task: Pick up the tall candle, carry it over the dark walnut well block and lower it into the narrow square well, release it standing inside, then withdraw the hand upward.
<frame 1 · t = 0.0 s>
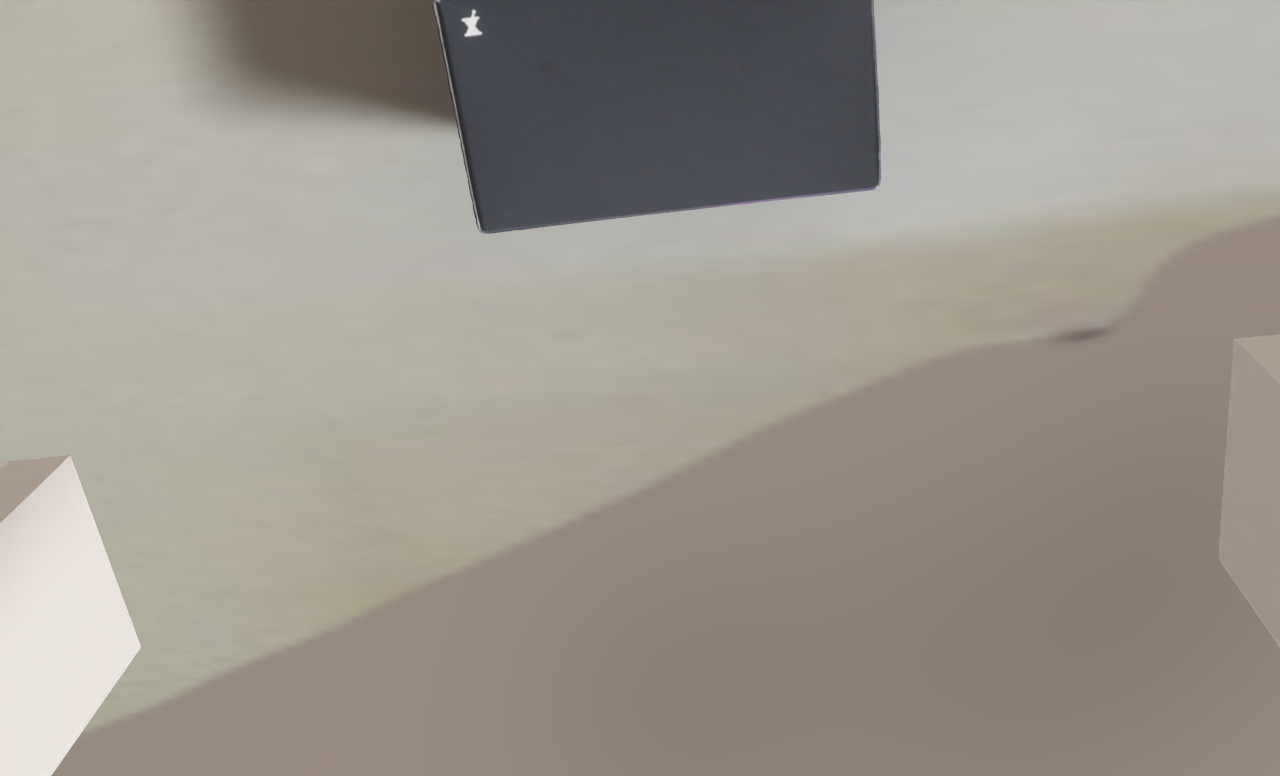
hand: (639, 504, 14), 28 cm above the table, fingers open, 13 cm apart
small box: (671, 30, 39), on the table
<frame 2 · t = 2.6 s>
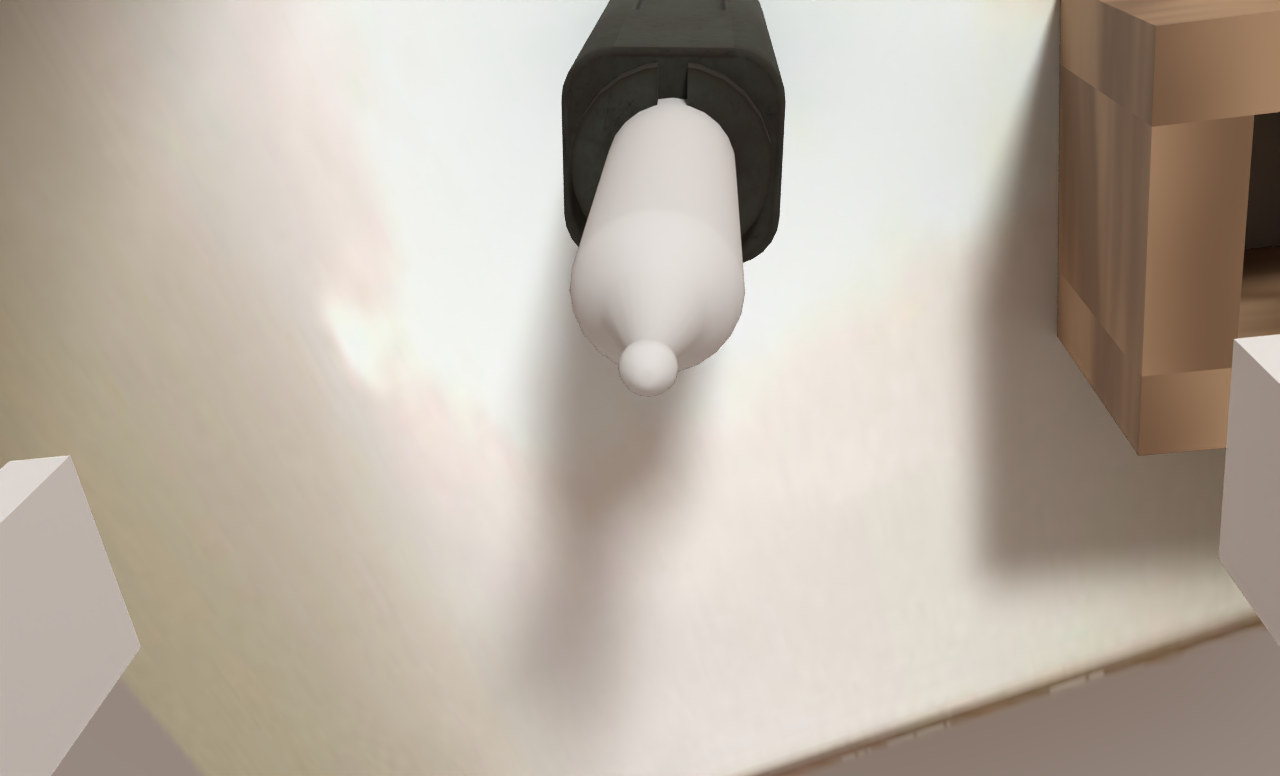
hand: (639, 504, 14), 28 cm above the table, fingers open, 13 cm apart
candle: (683, 62, 40), on the table
well block: (1246, 149, 40), on the table
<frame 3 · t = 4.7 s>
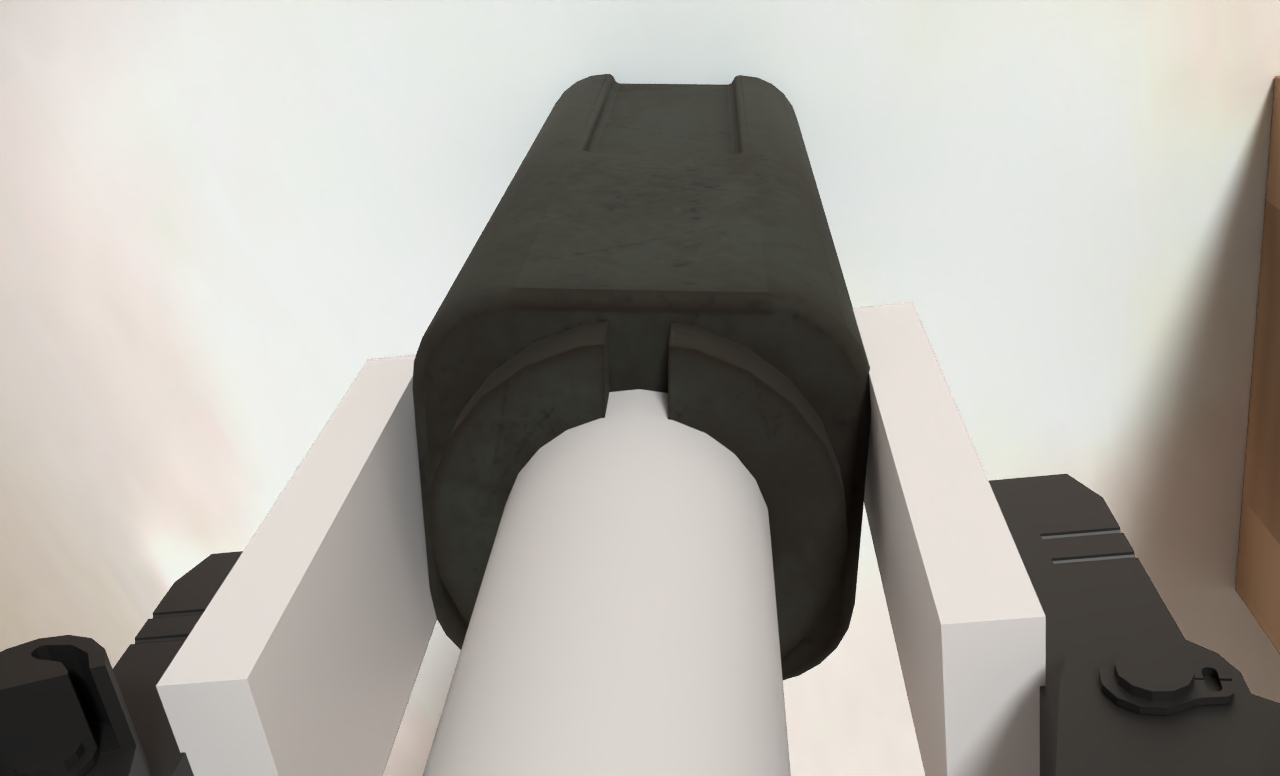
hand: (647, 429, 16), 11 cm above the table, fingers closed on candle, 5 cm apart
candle: (672, 195, 26), on the table, touching gripper
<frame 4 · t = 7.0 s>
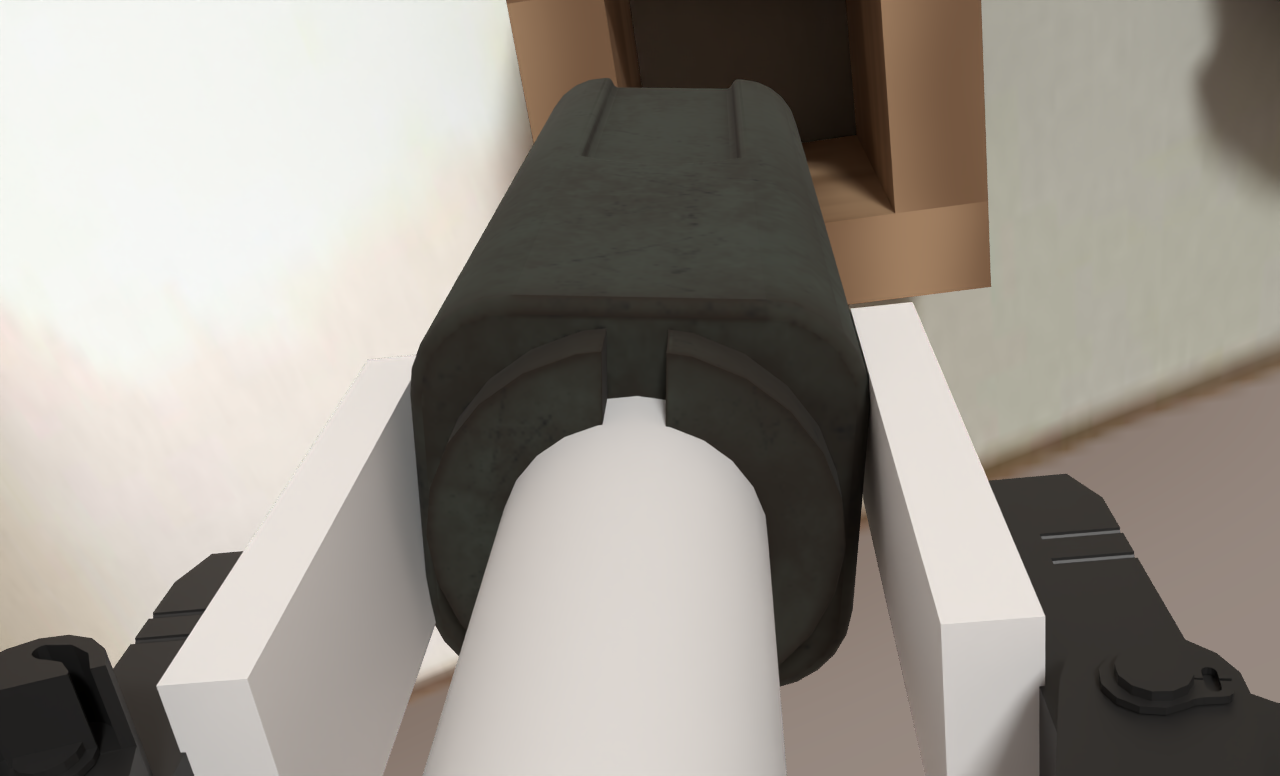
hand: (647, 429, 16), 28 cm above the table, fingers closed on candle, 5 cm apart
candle: (671, 199, 26), point 17 cm above the table, touching gripper
well block: (742, 46, 40), on the table
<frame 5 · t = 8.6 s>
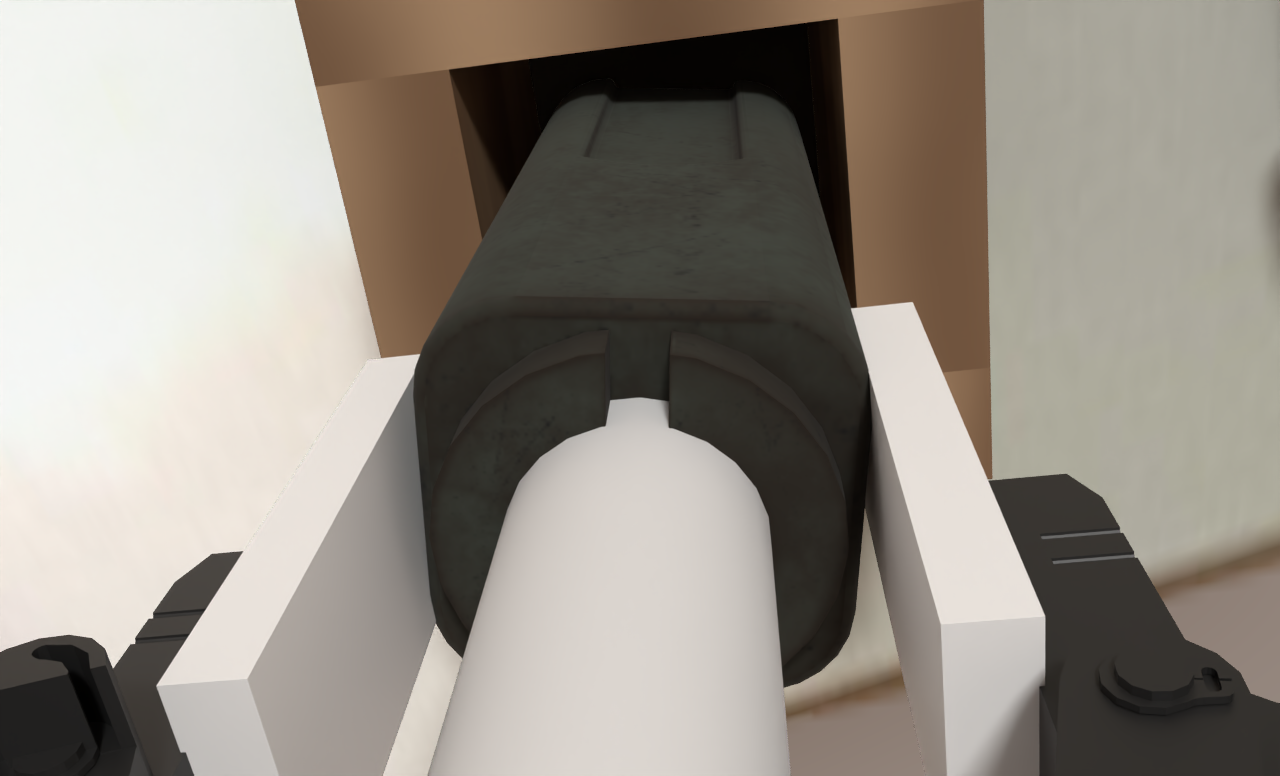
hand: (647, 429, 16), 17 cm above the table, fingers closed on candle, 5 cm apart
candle: (673, 199, 26), point 6 cm above the table, touching gripper
well block: (676, 126, 31), on the table
when the fingers open (12 cm above the table, at t = 9.6 s): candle drops 1 cm, resting in well block.
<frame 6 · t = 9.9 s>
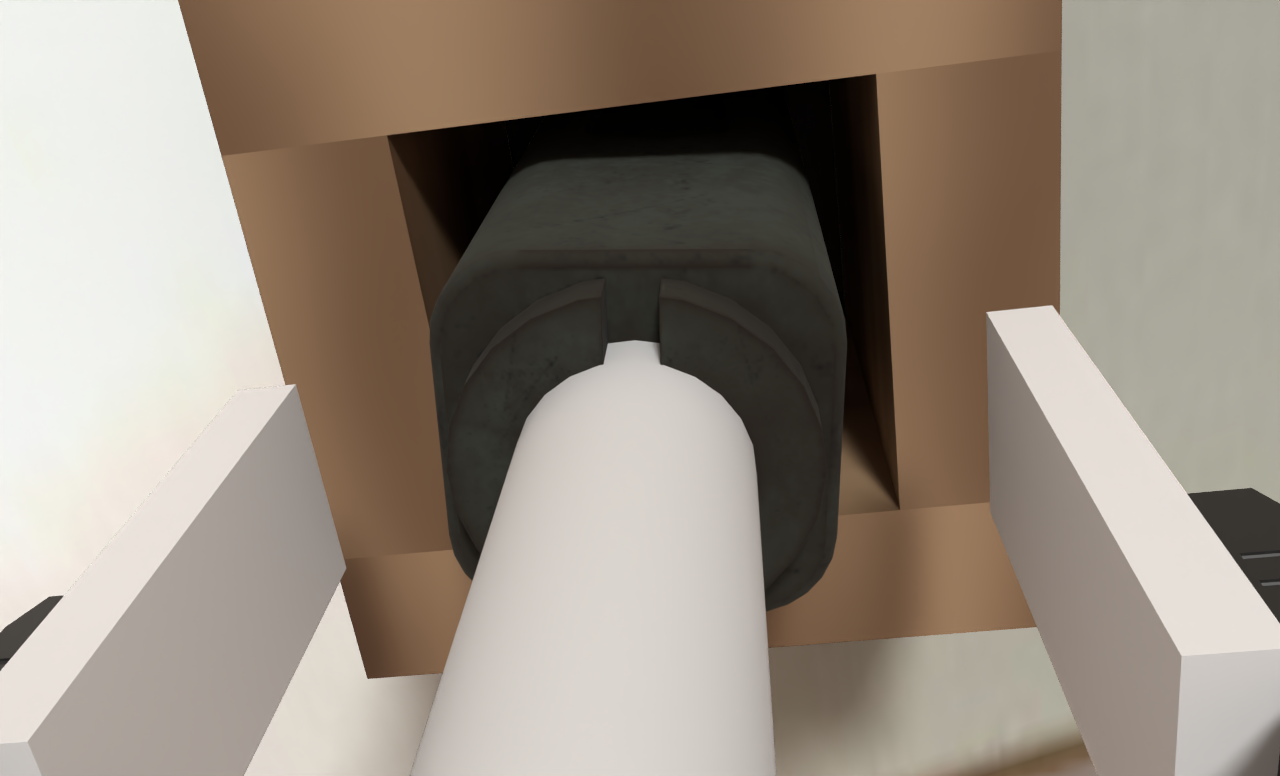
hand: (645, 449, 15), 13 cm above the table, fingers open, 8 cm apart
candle: (671, 178, 27), resting in well block
well block: (674, 179, 27), on the table
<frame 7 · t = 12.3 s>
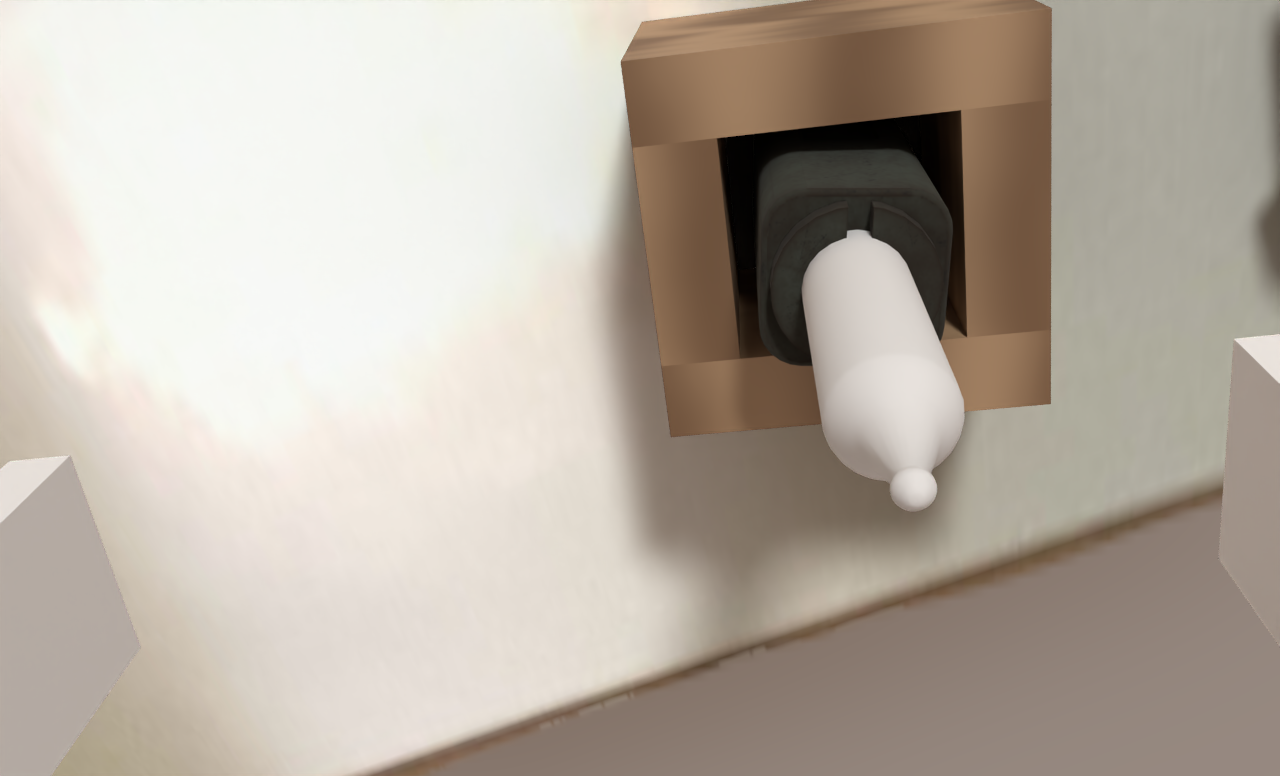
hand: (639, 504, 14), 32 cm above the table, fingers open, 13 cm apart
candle: (822, 168, 45), resting in well block
well block: (824, 169, 45), on the table
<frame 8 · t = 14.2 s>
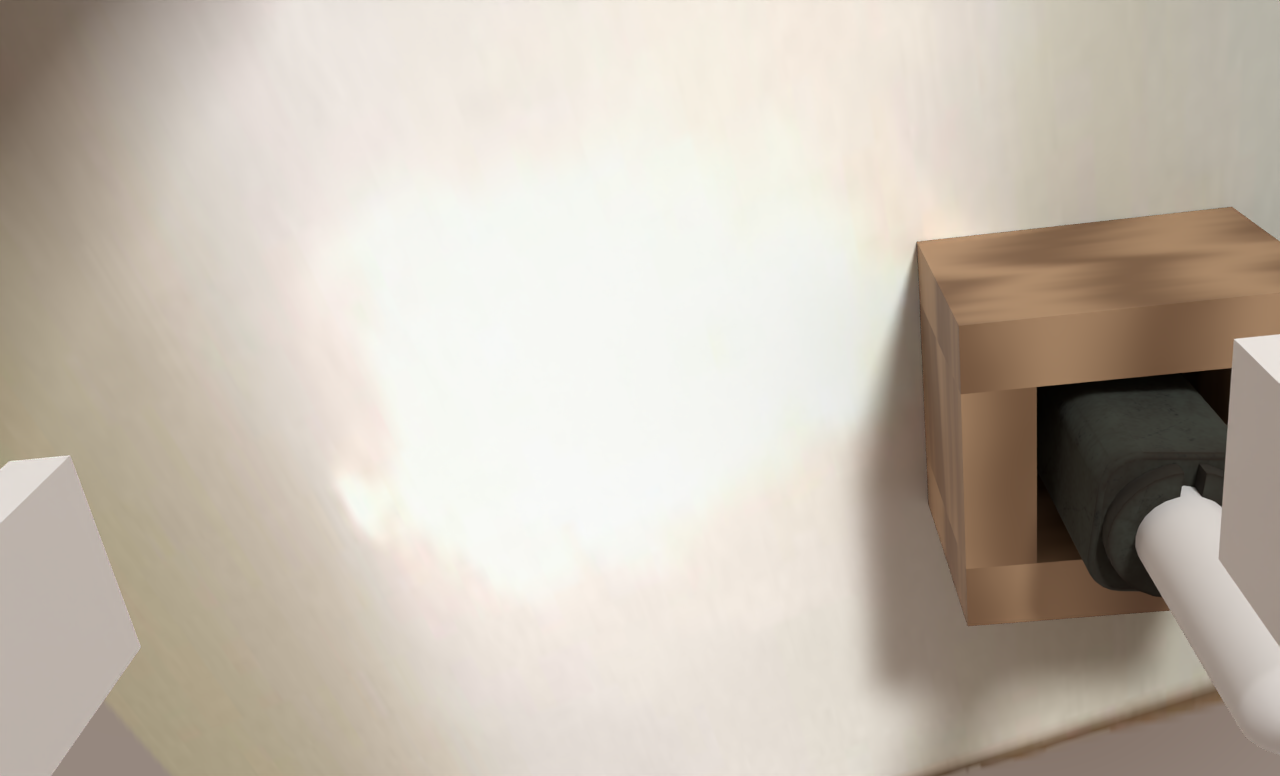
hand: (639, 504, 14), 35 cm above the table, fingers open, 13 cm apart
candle: (1067, 362, 50), resting in well block
well block: (1070, 364, 50), on the table
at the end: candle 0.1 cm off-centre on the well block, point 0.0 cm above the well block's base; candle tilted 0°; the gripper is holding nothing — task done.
